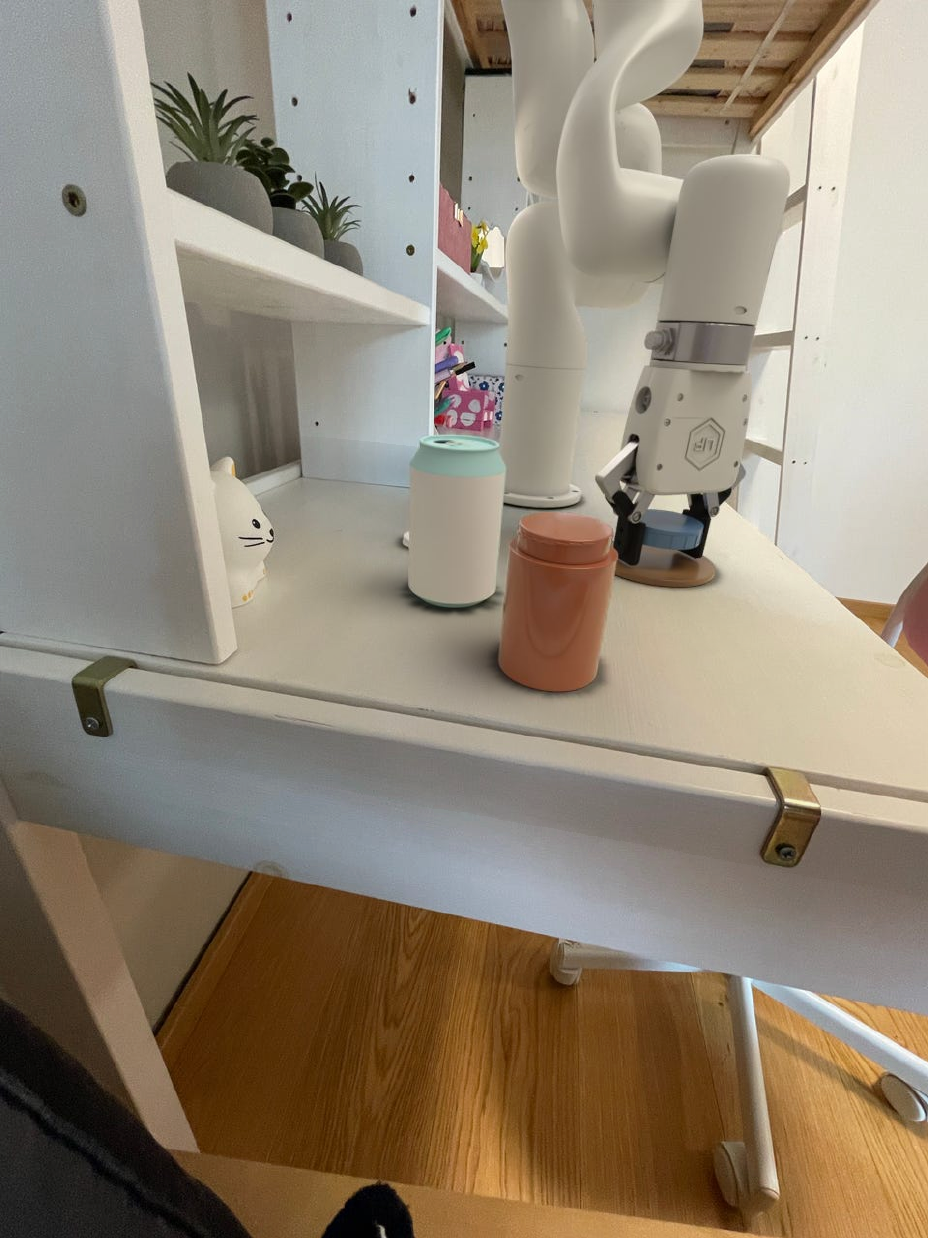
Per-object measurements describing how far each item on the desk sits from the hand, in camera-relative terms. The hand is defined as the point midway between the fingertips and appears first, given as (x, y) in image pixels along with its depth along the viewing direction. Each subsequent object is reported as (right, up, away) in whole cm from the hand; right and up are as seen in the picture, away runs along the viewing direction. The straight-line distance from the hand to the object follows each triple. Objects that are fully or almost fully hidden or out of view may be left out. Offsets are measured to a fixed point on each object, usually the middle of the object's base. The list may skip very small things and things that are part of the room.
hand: (657, 555), depth 55 cm
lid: (0, +3, -1) cm, 3 cm away
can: (-19, -4, -8) cm, 21 cm away
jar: (-13, -9, -17) cm, 23 cm away
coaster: (0, -1, +1) cm, 1 cm away
